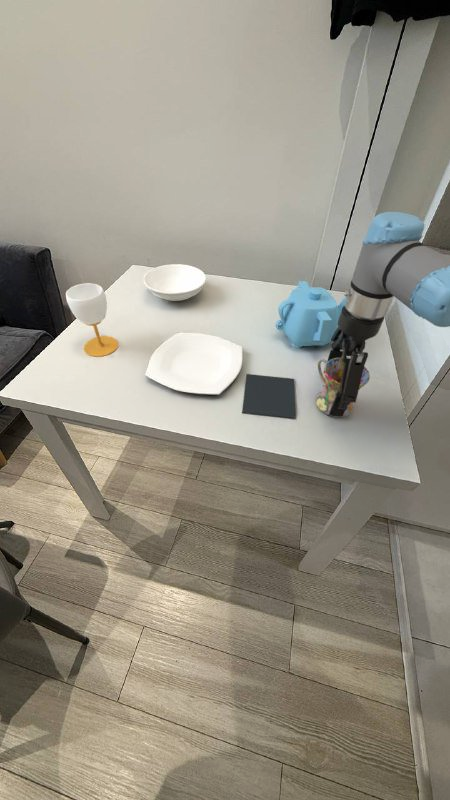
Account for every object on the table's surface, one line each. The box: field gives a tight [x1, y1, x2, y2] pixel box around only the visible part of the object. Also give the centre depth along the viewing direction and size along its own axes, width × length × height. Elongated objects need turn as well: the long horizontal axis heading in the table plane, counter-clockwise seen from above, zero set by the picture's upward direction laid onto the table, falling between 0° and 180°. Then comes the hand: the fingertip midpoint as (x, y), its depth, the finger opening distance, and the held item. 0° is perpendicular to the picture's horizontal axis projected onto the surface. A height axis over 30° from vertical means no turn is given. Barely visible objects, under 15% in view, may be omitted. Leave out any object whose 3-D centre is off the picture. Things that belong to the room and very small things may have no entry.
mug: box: [315, 358, 371, 418], centre depth 73 cm, size 12×9×11 cm
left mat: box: [241, 373, 297, 420], centre depth 77 cm, size 13×12×1 cm
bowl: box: [142, 263, 207, 302], centre depth 106 cm, size 20×20×6 cm
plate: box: [145, 332, 244, 396], centre depth 83 cm, size 23×23×2 cm
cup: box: [65, 282, 119, 358], centre depth 83 cm, size 9×9×16 cm
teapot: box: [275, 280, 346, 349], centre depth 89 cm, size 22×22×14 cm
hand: (332, 392), depth 74 cm, fingers open, 13 cm apart
